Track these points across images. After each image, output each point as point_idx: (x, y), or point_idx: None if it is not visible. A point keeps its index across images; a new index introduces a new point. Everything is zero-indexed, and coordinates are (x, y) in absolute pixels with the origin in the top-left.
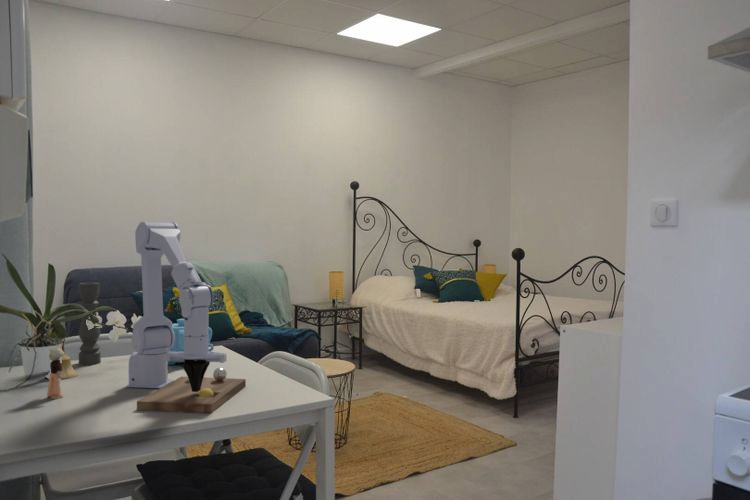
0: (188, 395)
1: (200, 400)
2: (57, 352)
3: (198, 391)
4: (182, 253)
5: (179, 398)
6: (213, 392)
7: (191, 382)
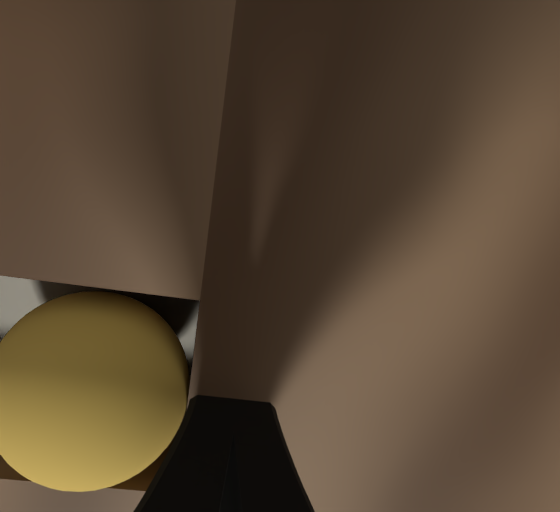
0: (314, 349)
1: (40, 92)
2: None
3: None
4: None
5: (413, 211)
6: None
7: (280, 506)
